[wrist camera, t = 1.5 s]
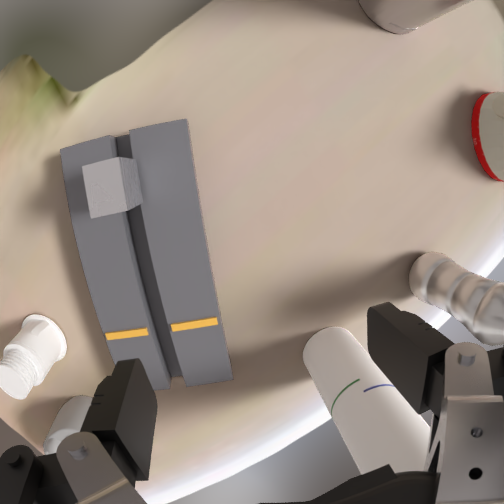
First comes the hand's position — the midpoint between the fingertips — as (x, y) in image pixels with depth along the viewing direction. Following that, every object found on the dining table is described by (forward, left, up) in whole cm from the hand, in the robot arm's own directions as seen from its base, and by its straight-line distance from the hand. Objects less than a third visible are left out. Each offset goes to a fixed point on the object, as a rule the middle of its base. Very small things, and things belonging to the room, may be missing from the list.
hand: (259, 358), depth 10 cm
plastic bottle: (+9, +25, -24) cm, 36 cm away
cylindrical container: (+17, +11, -24) cm, 32 cm away
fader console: (+2, -8, -24) cm, 25 cm away
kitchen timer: (-9, +43, -24) cm, 50 cm away
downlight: (+9, -25, -24) cm, 36 cm away
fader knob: (-7, -8, -24) cm, 26 cm away
